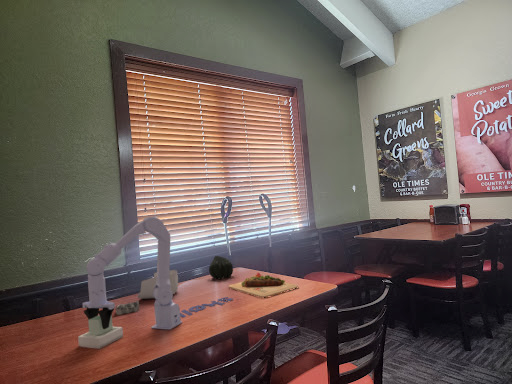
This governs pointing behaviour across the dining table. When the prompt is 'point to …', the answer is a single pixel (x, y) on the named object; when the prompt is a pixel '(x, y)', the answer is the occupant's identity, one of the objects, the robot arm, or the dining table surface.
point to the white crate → (100, 338)
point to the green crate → (98, 326)
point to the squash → (220, 268)
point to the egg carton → (127, 308)
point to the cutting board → (263, 285)
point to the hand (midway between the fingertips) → (100, 327)
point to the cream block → (149, 284)
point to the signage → (203, 306)
